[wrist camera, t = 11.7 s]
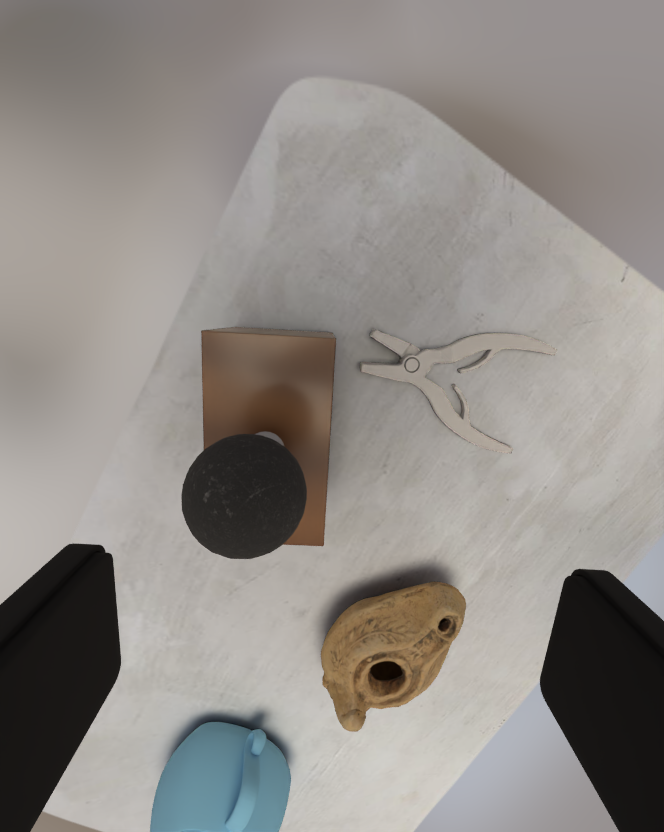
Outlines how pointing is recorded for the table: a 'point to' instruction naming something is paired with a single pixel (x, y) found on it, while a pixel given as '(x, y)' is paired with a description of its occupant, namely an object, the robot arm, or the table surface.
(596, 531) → the table surface
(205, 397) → the shelf
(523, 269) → the table surface
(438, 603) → the oil lamp
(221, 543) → the light bulb
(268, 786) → the teapot
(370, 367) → the pliers
